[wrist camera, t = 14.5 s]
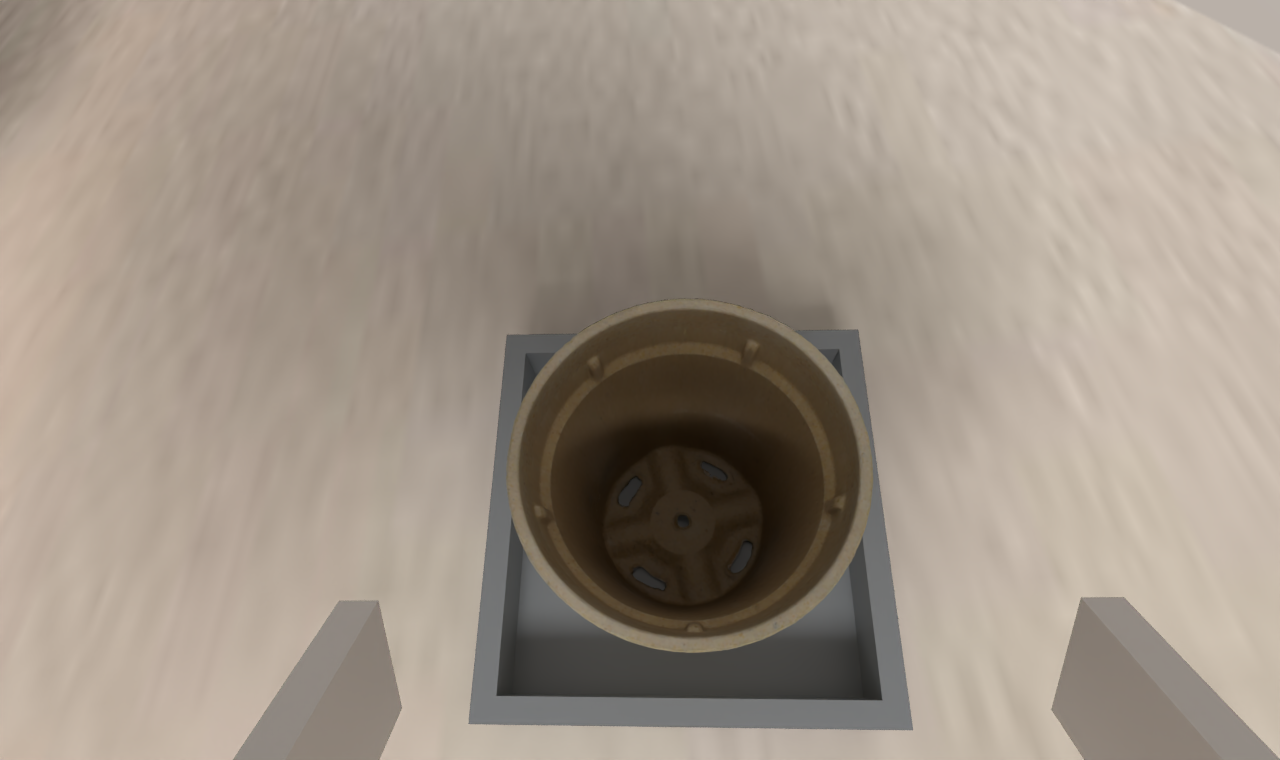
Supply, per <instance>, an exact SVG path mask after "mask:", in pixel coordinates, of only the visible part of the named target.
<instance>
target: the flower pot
mask: <svg viewBox="0 0 1280 760" xmlns="http://www.w3.org/2000/svg"><path fill="white" fill-rule="evenodd" d="M703 462H705V463H707V464H710V465H712V466H714V467H716V468H718V469H719V470H721V471H722V472H723V473H724V474H725V475H726V480H721V479H720V478H718V477H716V476H712V477H710V476H709V475H711V474H709V472H708V471H706V470H705V469H702V463H703ZM506 472H507V475H506V486H507V492H508V501H509V506H510V511H511V516H512V519H513V523H514V526H515V529H516V532H517V535H518V537H519V539H520V542H521V544H522V546H523V548H524V550H525V552H526V554H527V556H528V559H529V560H530V562H531V563H532V565H533V566H534V568H535V569H536V571H537V572H538V573H539V575H540V576H541V577H542V579H543V580H544V581H545V582H546V584H547V585H548V586H549V587H550V588H551V589H552V590H553V591H554V592H555V593H556V595H557V596H558V597H559V598H560V599H562V600H563V601H564V602H565V603H566V604H567V605H569V606H570V607H571V608H572V609H573V610H574V611H576V612H577V613H578V614H580V615H581V616H582V617H584V618H585V619H586V620H588V621H589V622H591V623H593V624H594V625H596V626H597V627H599V628H601V629H603V630H605V631H606V632H608V633H611V634H613V635H615V636H617V637H619V638H622V639H624V640H626V641H629V642H632V643H635V644H639V645H642V646H645V647H649V648H653V649H659V650H666V651H672V652H686V653H699V652H712V651H721V650H729V649H733V648H737V647H741V646H744V645H748V644H751V643H754V642H757V641H760V640H763V639H765V638H767V637H770V636H772V635H774V634H776V633H777V632H779V631H781V630H783V629H785V628H787V627H789V626H791V625H793V624H795V623H796V622H797V621H798V620H800V619H801V618H803V617H804V616H805V615H806V614H807V613H809V612H810V611H811V610H812V609H814V608H815V607H816V606H817V605H818V604H819V603H820V602H821V601H822V600H823V599H824V598H825V597H826V596H827V595H828V594H829V593H830V592H831V591H832V589H833V588H834V586H835V585H836V584H837V583H838V581H839V580H840V578H841V577H842V575H843V574H844V572H845V570H846V569H847V567H848V566H849V564H850V563H851V561H852V559H853V558H854V556H855V553H856V550H857V548H858V546H859V544H860V542H861V539H862V536H863V533H864V531H865V528H866V524H867V520H868V515H869V512H870V507H871V499H872V489H873V464H872V455H871V448H870V440H869V436H868V432H867V430H866V427H865V424H864V420H863V418H862V415H861V413H860V410H859V407H858V405H857V403H856V401H855V399H854V397H853V395H852V394H851V392H850V389H849V388H848V386H847V384H846V383H845V381H844V379H843V378H842V376H840V375H839V373H838V372H837V370H836V369H835V368H834V366H833V365H832V364H831V363H830V362H829V361H828V359H827V358H826V357H825V356H824V355H823V354H822V353H821V352H820V351H819V350H818V349H817V348H816V347H815V346H813V345H812V343H811V342H809V341H807V340H806V339H805V338H803V337H802V336H801V335H800V334H798V333H796V332H795V331H794V330H792V329H791V328H790V327H788V326H787V325H785V324H783V323H781V322H779V321H777V320H775V319H773V318H771V317H770V316H768V315H764V314H762V313H758V312H755V311H754V310H752V309H747V308H743V307H741V306H738V305H734V304H729V303H725V302H720V301H715V300H704V299H697V298H696V299H672V300H663V301H657V302H651V303H646V304H641V305H636V306H634V307H631V308H628V309H625V310H623V311H620V312H616V313H614V314H612V315H610V316H608V317H606V318H604V319H602V320H600V321H598V322H596V323H594V324H593V325H591V326H589V327H587V328H585V329H584V330H583V331H581V332H580V333H578V334H577V335H576V336H574V337H573V338H572V339H571V340H570V341H569V342H567V343H566V344H565V345H564V346H563V347H562V348H561V349H560V350H558V351H557V352H556V353H555V354H554V355H553V356H552V357H551V359H550V360H549V361H548V362H547V363H546V364H545V366H544V367H543V368H542V369H541V371H540V372H539V374H538V375H537V376H536V378H535V379H534V381H533V383H532V384H531V387H530V388H529V389H528V391H527V393H526V395H525V397H524V399H523V401H522V403H521V406H520V408H519V411H518V413H517V416H516V418H515V421H514V424H513V428H512V433H511V439H510V444H509V450H508V455H507V465H506ZM635 477H638V479H639V480H641V486H640V487H639V489H638V490H637V492H636V493H635V495H634V496H633V497H632V499H631V501H630V502H629V506H623V505H621V504H620V503H619V495H620V493H621V492H622V490H623V489H624V488H625V487H626V486H627V485H628V484H629V482H630V480H632V479H633V478H635ZM679 516H686V517H687V518H688V520H689V524H688V525H687V526H686V527H680V526H679V525H678V517H679ZM744 541H748V542H750V543H751V544H752V550H751V556H750V559H749V560H748V561H747V564H746V566H745V567H744V569H742V570H741V571H740V572H737V573H733V572H732V571H731V569H730V568H731V566H732V564H733V562H734V561H735V559H736V557H737V555H738V553H739V551H740V550H741V547H742V545H743V542H744ZM638 567H641V568H643V569H645V570H646V571H647V572H648V573H649V574H650V575H652V576H653V577H655V578H657V579H659V580H661V581H663V582H664V583H665V589H664V590H661V589H659V588H653V587H650V586H648V585H646V584H644V583H643V582H641V581H639V580H637V579H636V578H635V577H634V576H633V571H634V569H635V568H638Z"/></svg>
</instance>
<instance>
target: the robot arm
mask: <svg viewBox="0 0 1280 760" xmlns="http://www.w3.org/2000/svg"><path fill="white" fill-rule="evenodd" d="M401 709H402V706H401V701H400V697H399V692H398V688H397V683H396V678H395V674H394V669H393V665H392V660H391V656H390V651H389V647H388V642H387V638H386V633H385V628H384V624H383V619H382V615H381V610H380V606H379V601H339V602H338V603H337V605H336V606H335V608H334V609H333V611H332V612H331V614H330V615H329V617H328V618H327V620H326V621H325V623H324V624H323V626H322V627H321V629H320V630H319V632H318V633H317V635H316V636H315V638H314V639H313V641H312V642H311V644H310V645H309V647H308V648H307V650H306V651H305V653H304V654H303V656H302V657H301V659H300V660H299V662H298V663H297V665H296V666H295V668H294V669H293V671H292V672H291V674H290V675H289V677H288V678H287V680H286V681H285V683H284V684H283V686H282V687H281V689H280V690H279V692H278V693H277V695H276V696H275V698H274V699H273V701H272V702H271V704H270V705H269V707H268V708H267V710H266V711H265V713H264V714H263V716H262V717H261V719H260V720H259V722H258V723H257V725H256V726H255V728H254V729H253V731H252V732H251V734H250V735H249V737H248V738H247V740H246V741H245V743H244V744H243V746H242V747H241V749H240V750H239V752H238V753H237V755H236V756H235V758H234V759H233V760H379V759H380V757H381V755H382V752H383V750H384V748H385V745H386V743H387V741H388V739H389V736H390V734H391V732H392V730H393V727H394V725H395V723H396V720H397V718H398V716H399V714H400V711H401ZM1051 710H1052V711H1053V713H1054V714H1055V716H1056V717H1057V719H1058V720H1059V722H1060V723H1061V725H1062V726H1063V728H1064V729H1065V731H1066V732H1067V734H1068V736H1069V737H1070V739H1071V740H1072V742H1073V743H1074V745H1075V746H1076V748H1077V749H1078V751H1079V752H1080V754H1081V755H1082V757H1083V758H1084V760H1280V759H1279V758H1278V757H1277V756H1276V755H1275V754H1274V753H1273V752H1272V751H1271V750H1270V749H1269V747H1268V746H1267V745H1266V744H1265V743H1264V742H1263V741H1262V740H1261V739H1260V738H1259V737H1258V736H1257V735H1256V734H1255V733H1254V732H1253V731H1252V730H1251V729H1250V728H1249V727H1248V726H1247V725H1246V724H1245V723H1244V722H1243V720H1242V719H1241V718H1240V717H1239V716H1238V715H1237V714H1236V713H1235V712H1234V711H1233V710H1232V709H1231V708H1230V707H1229V706H1228V705H1227V704H1226V703H1225V702H1224V701H1223V700H1222V699H1221V698H1220V697H1219V696H1218V694H1217V693H1216V692H1215V691H1214V690H1213V689H1212V688H1211V687H1210V686H1209V685H1208V684H1207V683H1206V682H1205V681H1204V680H1203V679H1202V678H1201V677H1200V676H1199V675H1198V674H1197V673H1196V672H1195V671H1194V670H1193V669H1192V667H1191V666H1190V665H1189V664H1188V663H1187V662H1186V661H1185V660H1184V659H1183V658H1182V657H1181V656H1180V655H1179V654H1178V653H1177V652H1176V651H1175V650H1174V649H1173V648H1172V647H1171V646H1170V645H1169V644H1168V643H1167V642H1166V640H1165V639H1164V638H1163V637H1162V636H1161V635H1160V634H1159V633H1158V632H1157V631H1156V630H1155V629H1154V628H1153V627H1152V626H1151V625H1150V624H1149V623H1148V622H1147V621H1146V620H1145V619H1144V618H1143V617H1142V616H1141V614H1140V613H1139V612H1138V611H1137V610H1136V609H1135V608H1134V607H1133V606H1132V605H1131V604H1130V603H1129V602H1128V601H1127V600H1126V599H1125V598H1124V597H1091V598H1081V600H1080V604H1079V607H1078V611H1077V615H1076V619H1075V622H1074V626H1073V630H1072V634H1071V637H1070V641H1069V645H1068V649H1067V653H1066V656H1065V660H1064V664H1063V668H1062V671H1061V675H1060V679H1059V683H1058V686H1057V690H1056V694H1055V698H1054V701H1053V705H1052V709H1051Z"/></svg>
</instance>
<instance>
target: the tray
mask: <svg viewBox="0 0 1280 760" xmlns="http://www.w3.org/2000/svg"><path fill="white" fill-rule="evenodd" d="M795 332H796V333H798V334H800V335H801V336H802V337H803V338H805V339H806V340H807V341H809V342H811V343H812V345H813V346H815V347H816V348H817V349H818V350H819V351H820V352H821V353H822V354H823V355H824V356H825V357H826V358H827V359H828V361H829V362H830V363H831V364H832V365H833V366H834V368H835V369H836V370H837V372H838V373H839V375H840V376H842V378H843V379H844V381H845V383H846V384H847V386H848V388H849V389H850V392H851V394H852V395H853V397H854V399H855V401H856V403H857V405H858V407H859V410H860V413H861V415H862V418H863V420H864V424H865V427H866V430H867V432H868V436H869V440H870V448H871V455H872V464H873V489H872V499H871V507H870V512H869V515H868V520H867V524H866V528H865V531H864V533H863V536H862V539H861V542H860V544H859V546H858V548H857V550H856V553H855V556H854V558H853V559H852V561H851V563H850V564H849V566H848V567H847V569H846V570H845V572H844V574H843V575H842V577H841V578H840V580H839V581H838V583H837V584H836V585H835V586H834V588H833V589H832V591H831V592H830V593H829V594H828V595H827V596H826V597H825V598H824V599H823V600H822V601H821V602H820V603H819V604H818V605H817V606H816V607H815V608H814V609H812V610H811V611H810V612H809V613H807V614H806V615H805V616H804V617H803V618H801V619H800V620H798V621H797V622H796V623H795V624H793V625H791V626H789V627H787V628H785V629H783V630H781V631H779V632H777V633H776V634H774V635H772V636H770V637H767V638H765V639H763V640H760V641H757V642H754V643H751V644H748V645H744V646H741V647H737V648H733V649H729V650H721V651H712V652H699V653H686V652H672V651H666V650H659V649H653V648H649V647H645V646H642V645H639V644H635V643H632V642H629V641H626V640H624V639H622V638H619V637H617V636H615V635H613V634H611V633H608V632H606V631H605V630H603V629H601V628H599V627H597V626H596V625H594V624H593V623H591V622H589V621H588V620H586V619H585V618H584V617H582V616H581V615H580V614H578V613H577V612H576V611H574V610H573V609H572V608H571V607H570V606H569V605H567V604H566V603H565V602H564V601H563V600H562V599H560V598H559V597H558V596H557V595H556V593H555V592H554V591H553V590H552V589H551V588H550V587H549V586H548V585H547V584H546V582H545V581H544V580H543V579H542V577H541V576H540V575H539V573H538V572H537V571H536V569H535V568H534V566H533V565H532V563H531V562H530V560H529V559H528V556H527V554H526V552H525V550H524V548H523V546H522V544H521V542H520V539H519V537H518V535H517V532H516V529H515V526H514V523H513V519H512V516H511V511H510V506H509V501H508V492H507V486H506V475H507V472H506V465H507V455H508V450H509V444H510V439H511V433H512V428H513V424H514V421H515V418H516V416H517V413H518V411H519V408H520V406H521V403H522V401H523V399H524V397H525V395H526V393H527V391H528V389H529V388H530V387H531V384H532V383H533V381H534V379H535V378H536V376H537V375H538V374H539V372H540V371H541V369H542V368H543V367H544V366H545V364H546V363H547V362H548V361H549V360H550V359H551V357H552V356H553V355H554V354H555V353H556V352H557V351H558V350H560V349H561V348H562V347H563V346H564V345H565V344H566V343H567V342H569V341H570V340H571V339H572V338H573V337H574V336H576V335H577V334H533V335H507V339H506V349H505V360H504V370H503V380H502V390H501V400H500V410H499V420H498V430H497V441H496V451H495V461H494V471H493V481H492V491H491V501H490V511H489V521H488V532H487V542H486V552H485V562H484V572H483V582H482V592H481V602H480V612H479V623H478V633H477V643H476V653H475V663H474V673H473V683H472V693H471V704H470V714H469V724H499V725H571V726H642V727H714V728H785V729H857V730H913V726H912V719H911V711H910V704H909V697H908V689H907V682H906V675H905V668H904V660H903V653H902V646H901V638H900V631H899V624H898V616H897V609H896V602H895V595H894V587H893V580H892V573H891V565H890V558H889V551H888V543H887V536H886V529H885V522H884V514H883V507H882V500H881V492H880V485H879V478H878V471H877V463H876V456H875V449H874V441H873V434H872V427H871V419H870V412H869V405H868V398H867V390H866V383H865V376H864V368H863V361H862V354H861V346H860V339H859V332H858V330H802V331H795ZM702 469H705V470H706V471H708V472H709V474H711V475H709V476H710V477H712V476H716V477H718V478H720V479H721V480H726V475H725V474H724V473H723V472H722V471H721V470H719V469H718V468H716V467H714V466H712V465H710V464H707V463H705V462H703V463H702ZM640 486H641V480H639V479H638V477H635V478H633V479H632V480H630V482H629V484H628V485H627V486H626V487H625V488H624V489H623V490H622V492H621V493H620V495H619V503H620V504H621V505H623V506H629V502H630V501H631V499H632V497H633V496H634V495H635V493H636V492H637V490H638V489H639V487H640ZM688 524H689V520H688V518H687V517H686V516H679V517H678V525H679V526H680V527H686V526H687V525H688ZM751 550H752V544H751V543H750V542H748V541H744V542H743V545H742V547H741V550H740V551H739V553H738V555H737V557H736V559H735V561H734V562H733V564H732V566H731V568H730V569H731V571H732V572H733V573H737V572H740V571H741V570H742V569H744V567H745V566H746V564H747V561H748V560H749V559H750V556H751ZM633 576H634V577H635V578H636V579H637V580H639V581H641V582H643V583H644V584H646V585H648V586H650V587H653V588H659V589H661V590H664V589H665V583H664V582H663V581H661V580H659V579H657V578H655V577H653V576H652V575H650V574H649V573H648V572H647V571H646V570H645V569H643V568H641V567H638V568H635V569H634V571H633Z"/></svg>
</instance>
